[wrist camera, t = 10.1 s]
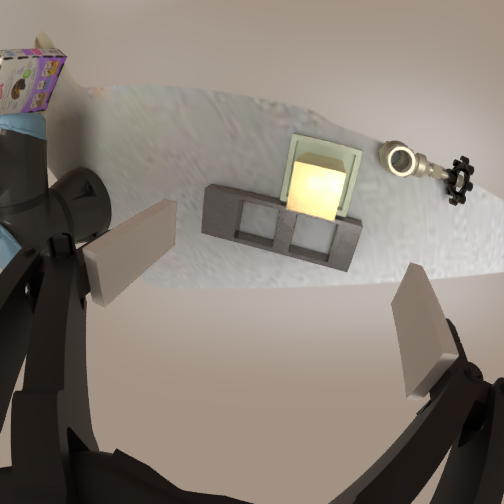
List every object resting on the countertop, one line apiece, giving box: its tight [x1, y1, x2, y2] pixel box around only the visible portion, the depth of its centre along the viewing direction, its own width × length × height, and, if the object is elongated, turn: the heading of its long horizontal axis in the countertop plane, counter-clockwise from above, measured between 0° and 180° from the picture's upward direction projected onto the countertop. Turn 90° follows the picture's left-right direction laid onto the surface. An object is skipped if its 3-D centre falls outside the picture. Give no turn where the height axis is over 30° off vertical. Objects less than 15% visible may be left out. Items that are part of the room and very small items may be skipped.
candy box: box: [0, 48, 67, 115], centre depth 32 cm, size 14×6×16 cm, turn 140°
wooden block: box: [286, 151, 346, 221], centre depth 31 cm, size 5×5×10 cm
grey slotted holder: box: [201, 184, 362, 272], centre depth 40 cm, size 22×7×2 cm, turn 81°
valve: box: [378, 141, 474, 206], centre depth 29 cm, size 7×7×12 cm
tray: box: [280, 133, 363, 217], centre depth 35 cm, size 9×9×2 cm
